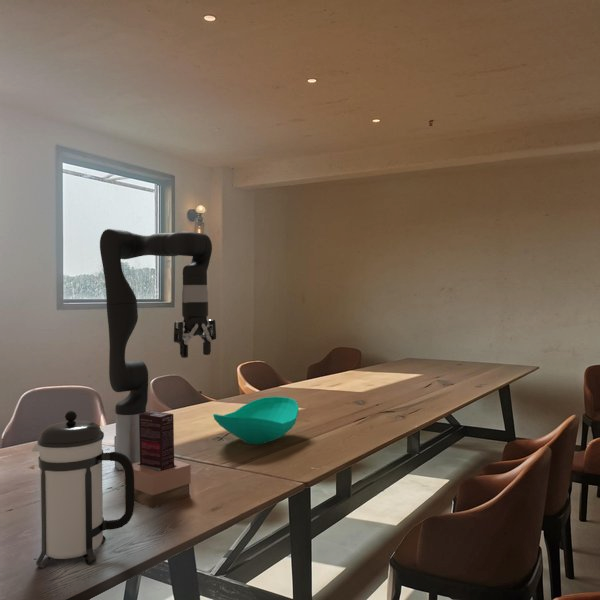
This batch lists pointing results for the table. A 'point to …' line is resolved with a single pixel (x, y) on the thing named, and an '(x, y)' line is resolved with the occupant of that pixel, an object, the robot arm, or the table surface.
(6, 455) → the table surface
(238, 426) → the table top decor
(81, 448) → the coffee press
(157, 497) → the tower bottom
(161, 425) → the supplement box
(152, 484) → the tower top
